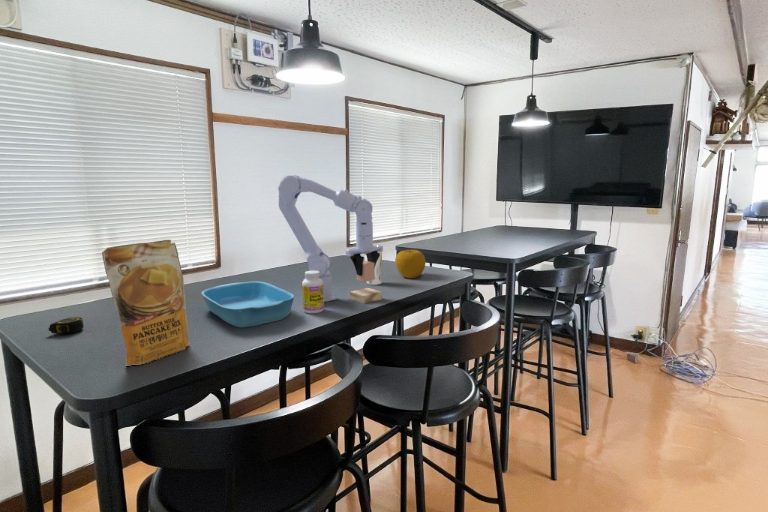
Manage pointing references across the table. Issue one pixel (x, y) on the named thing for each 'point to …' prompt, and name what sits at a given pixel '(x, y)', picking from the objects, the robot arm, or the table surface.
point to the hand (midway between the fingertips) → (365, 274)
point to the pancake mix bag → (148, 299)
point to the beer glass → (376, 270)
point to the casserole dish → (248, 303)
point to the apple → (410, 263)
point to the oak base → (365, 295)
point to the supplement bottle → (313, 292)
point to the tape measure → (67, 325)
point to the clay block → (367, 272)
